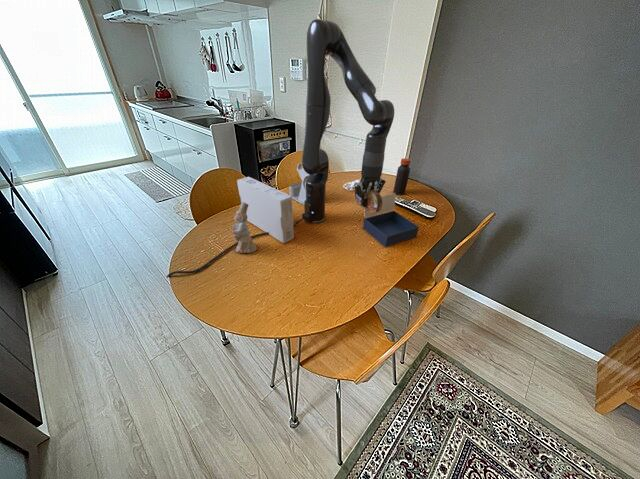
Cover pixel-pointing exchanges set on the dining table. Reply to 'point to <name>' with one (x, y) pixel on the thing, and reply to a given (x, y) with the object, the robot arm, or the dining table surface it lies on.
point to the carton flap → (384, 205)
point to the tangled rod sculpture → (351, 185)
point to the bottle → (402, 177)
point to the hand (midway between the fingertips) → (367, 205)
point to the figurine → (242, 231)
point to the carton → (390, 228)
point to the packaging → (267, 208)
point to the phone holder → (299, 186)
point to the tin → (371, 201)
